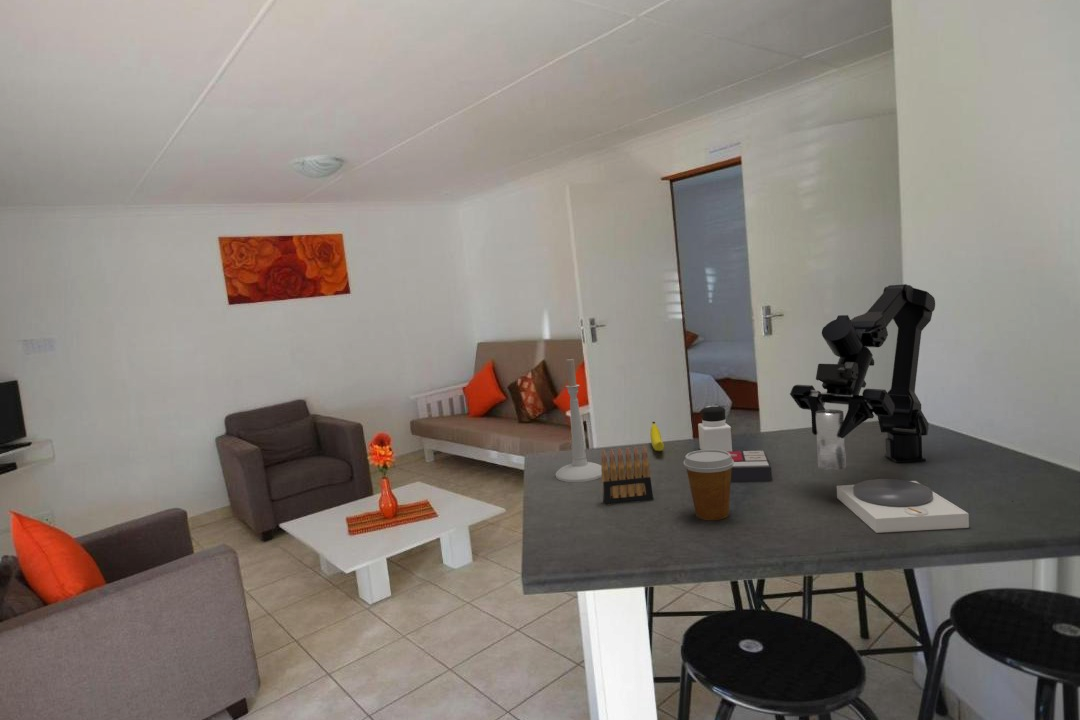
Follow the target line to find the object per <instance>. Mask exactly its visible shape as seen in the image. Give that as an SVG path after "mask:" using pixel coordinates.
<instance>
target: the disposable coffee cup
mask: <svg viewBox="0 0 1080 720" xmlns="http://www.w3.org/2000/svg"><path fill="white" fill-rule="evenodd" d="M684 457H685V459H684V460H683V465H684V467H685V469H686V473H687V477H688V483H689V488H690V492H691V497H692V502H693V508H694V511H695V517H697V518H699V519H700V520H705V521H719V520H723V519H726V518H728V517H729V515H730V514H729V513H730V497H731V483H732V482H731V469H732V466H733V463H734V460H733V459H732V457H731V454H730V453H728V452H726V451H721V450H701V449H700V450H694V451H690V452H688V453H687V454H686V455H685V456H684Z"/></svg>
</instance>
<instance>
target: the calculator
mask: <svg viewBox="0 0 1080 720" xmlns="http://www.w3.org/2000/svg"><path fill="white" fill-rule="evenodd" d="M728 453H730V454H731V457H732V459H733V460H734V463H733V466H732V469H731V483H765V482H766V483H767V482H769V483H770V482H772V481H773V474H772V471H773V470H772V466H771V463H770V461H769V458H768V456H767V454H766V452H764V450H743V452H741V450H737V451H735V450H734V451H729V452H728Z"/></svg>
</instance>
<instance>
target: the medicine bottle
mask: <svg viewBox="0 0 1080 720" xmlns="http://www.w3.org/2000/svg"><path fill="white" fill-rule="evenodd" d="M726 420H727V419H726V409H725V408H724V407H723V406H720V405H708V406H705V407H703V408H702V409H701V421H702V422H701V423H698V424H697V427H698V441H699V449H700V450H721V451H726V452H729V451H733V436H732V435H733V434H732V427H731V426H730V425H729V424H728V423H726V422H727V421H726Z"/></svg>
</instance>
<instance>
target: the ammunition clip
mask: <svg viewBox="0 0 1080 720" xmlns="http://www.w3.org/2000/svg"><path fill="white" fill-rule="evenodd" d="M641 449H642V450H641V459H640V453H639V450H638V447H637V446H636V445H635V446H634V447H633V461H632V456H631V451H630V448H629V447H628V446H627V447H626V449H625V462H624V457H623V456H624V455H623V451H622V449H621V448H620V447H619V448H618V449H617V463H616V458H615V457H616V456H615V453H614V450H613V448H610V449H609V458H607V454H606V451H605V449H604V448H603V449H602V450H601V456H600V457H601V466H602V468H601V471H602V477H601V480H602V501H603V502H602V503H603V504H604V505H605V506H608V505H614V504H615V505H617V504H625V503H626V504H627V503H637V502H644V501H645V502H646V501H653V500H654V494H653V487H652V480H651V469H650V463H649V462H650V461H649V458H648V450H647V447H646V445H644V444H643V446H642V448H641ZM608 459H609V465H608ZM640 460H641V461H640ZM632 462H633V463H632Z"/></svg>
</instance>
